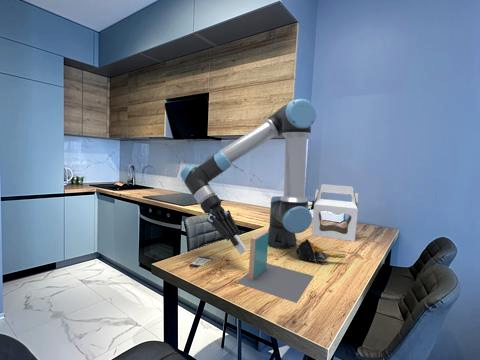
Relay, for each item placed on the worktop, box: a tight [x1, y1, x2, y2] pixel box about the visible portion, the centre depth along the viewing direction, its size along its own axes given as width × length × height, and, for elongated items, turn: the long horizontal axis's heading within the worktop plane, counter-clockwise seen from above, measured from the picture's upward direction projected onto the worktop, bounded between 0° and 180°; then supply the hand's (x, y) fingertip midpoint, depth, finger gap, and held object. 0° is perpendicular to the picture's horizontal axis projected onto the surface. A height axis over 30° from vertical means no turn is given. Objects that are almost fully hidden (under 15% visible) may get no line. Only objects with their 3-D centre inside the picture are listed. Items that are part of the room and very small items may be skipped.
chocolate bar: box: [189, 256, 214, 269], centre depth 96 cm, size 9×1×18 cm
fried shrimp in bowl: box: [295, 239, 346, 264], centre depth 105 cm, size 9×11×18 cm
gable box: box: [311, 183, 359, 242], centre depth 141 cm, size 22×13×28 cm, turn 70°
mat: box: [235, 262, 315, 304], centre depth 86 cm, size 20×20×1 cm
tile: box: [248, 230, 269, 280], centre depth 89 cm, size 11×2×14 cm, turn 151°
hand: (243, 252), depth 92 cm, fingers closed
